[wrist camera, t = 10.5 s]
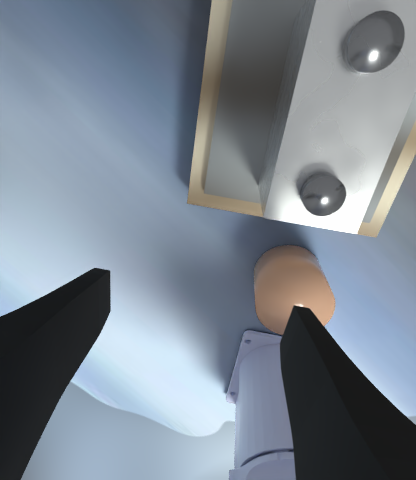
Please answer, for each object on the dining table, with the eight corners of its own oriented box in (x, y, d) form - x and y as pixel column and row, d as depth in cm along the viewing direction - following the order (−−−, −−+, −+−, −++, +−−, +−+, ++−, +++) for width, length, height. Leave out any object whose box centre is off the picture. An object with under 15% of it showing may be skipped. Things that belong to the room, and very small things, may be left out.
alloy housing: (326, 196, 17) (361, 240, 12) (257, 185, 17) (264, 223, 12) (383, 29, 13) (468, -11, 8) (295, 16, 13) (326, -31, 8)
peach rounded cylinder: (308, 304, 23) (320, 342, 20) (247, 293, 24) (248, 328, 20) (329, 251, 21) (347, 283, 18) (261, 238, 21) (265, 267, 18)
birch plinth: (364, 224, 20) (379, 241, 18) (192, 193, 20) (185, 206, 18) (459, 6, 14) (499, -10, 12) (221, -32, 15) (217, -54, 13)
